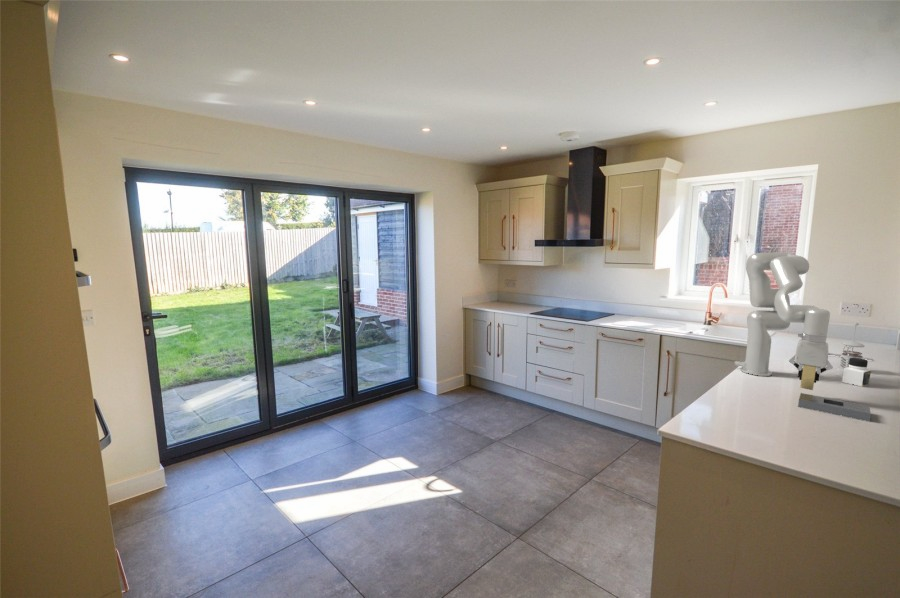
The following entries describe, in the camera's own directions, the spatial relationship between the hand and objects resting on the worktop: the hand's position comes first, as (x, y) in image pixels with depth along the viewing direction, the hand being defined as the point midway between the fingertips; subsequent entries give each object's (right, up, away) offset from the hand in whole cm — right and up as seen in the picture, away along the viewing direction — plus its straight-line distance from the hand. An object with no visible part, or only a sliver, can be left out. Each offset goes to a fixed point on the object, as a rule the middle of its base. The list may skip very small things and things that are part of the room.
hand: (807, 380), depth 173 cm
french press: (+55, -3, +39) cm, 67 cm away
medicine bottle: (+38, -5, +18) cm, 42 cm away
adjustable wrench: (+75, 0, +64) cm, 98 cm away
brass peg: (0, -3, +1) cm, 3 cm away
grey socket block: (-2, -9, -13) cm, 16 cm away
